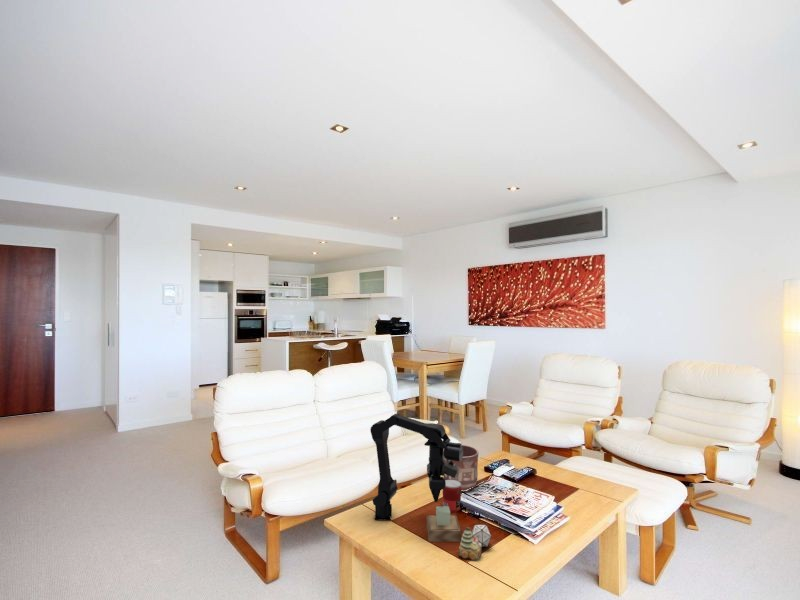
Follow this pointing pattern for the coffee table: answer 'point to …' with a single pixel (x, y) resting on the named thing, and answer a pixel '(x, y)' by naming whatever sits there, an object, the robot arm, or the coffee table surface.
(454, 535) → the pedestal
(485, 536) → the game die
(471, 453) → the pottery
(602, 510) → the coffee table surface
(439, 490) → the robot arm
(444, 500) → the canned food
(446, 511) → the sage block
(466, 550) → the ornament
